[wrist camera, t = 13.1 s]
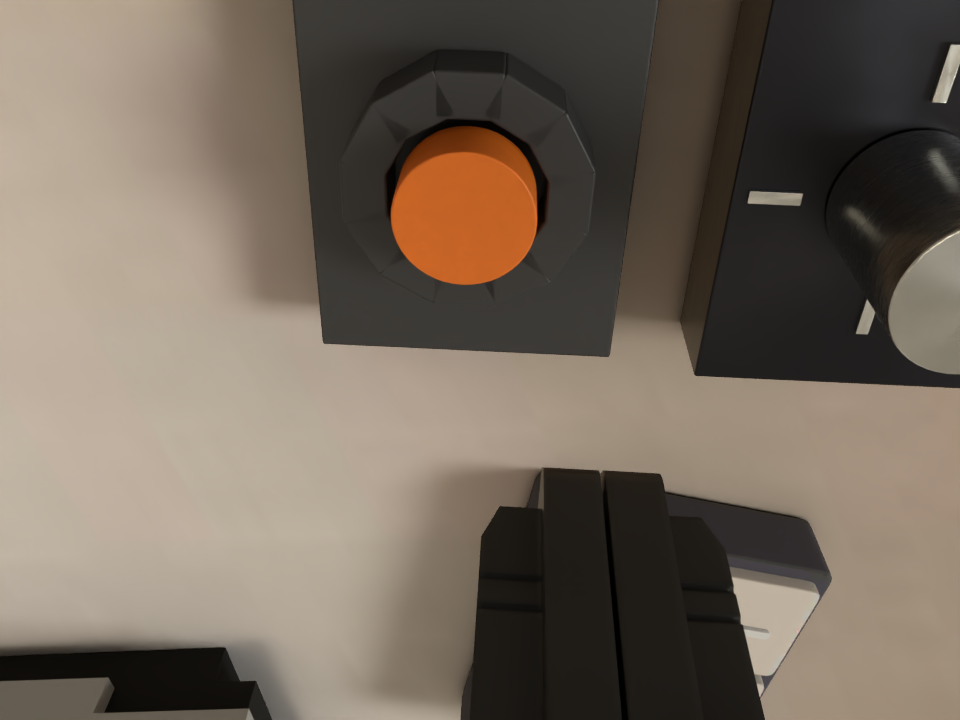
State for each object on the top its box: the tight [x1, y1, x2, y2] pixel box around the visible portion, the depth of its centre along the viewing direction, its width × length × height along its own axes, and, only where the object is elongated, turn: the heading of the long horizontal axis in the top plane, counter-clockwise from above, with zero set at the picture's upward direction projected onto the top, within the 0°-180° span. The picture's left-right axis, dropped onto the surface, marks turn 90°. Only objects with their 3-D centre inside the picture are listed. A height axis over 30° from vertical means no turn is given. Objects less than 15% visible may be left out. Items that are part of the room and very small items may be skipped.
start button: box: [391, 126, 537, 285], centre depth 22 cm, size 4×4×2 cm
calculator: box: [461, 474, 832, 720], centre depth 36 cm, size 11×4×15 cm
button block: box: [292, 0, 659, 357], centre depth 24 cm, size 12×9×4 cm
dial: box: [826, 130, 960, 375], centre depth 21 cm, size 4×4×5 cm
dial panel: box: [680, 0, 960, 388], centre depth 24 cm, size 12×9×3 cm
